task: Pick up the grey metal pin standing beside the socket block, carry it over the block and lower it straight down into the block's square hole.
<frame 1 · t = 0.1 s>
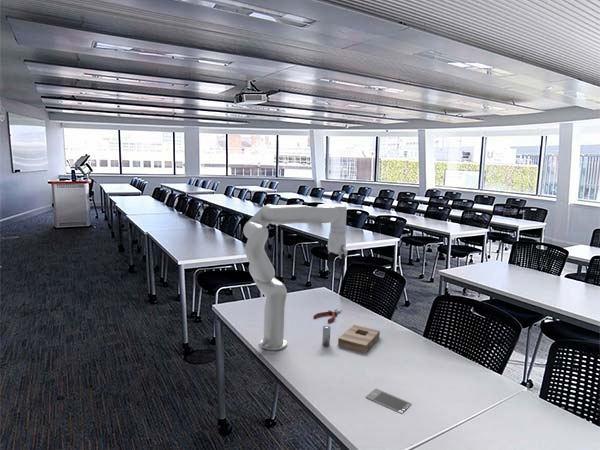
hand: (336, 263, 202), 37 cm above the table, tool pointing down, fingers open, 9 cm apart
pliers: (331, 318, 231), on the table
socket block: (359, 341, 201), on the table
smartphone: (388, 402, 151), on the table
pin: (325, 344, 196), on the table
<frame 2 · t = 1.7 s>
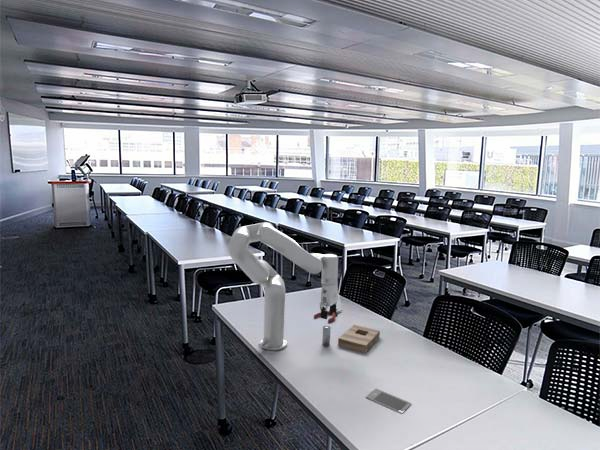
hand: (328, 315, 193), 15 cm above the table, tool pointing down, fingers open, 9 cm apart
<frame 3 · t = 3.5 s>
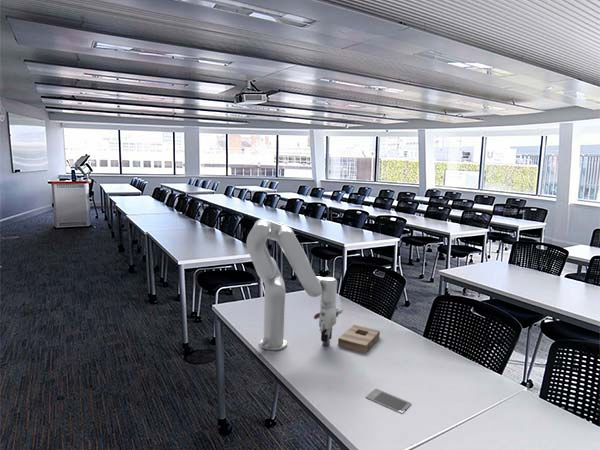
hand: (326, 339, 195), 3 cm above the table, tool pointing down, fingers closed on pin, 3 cm apart
pin: (325, 344, 196), on the table, touching gripper
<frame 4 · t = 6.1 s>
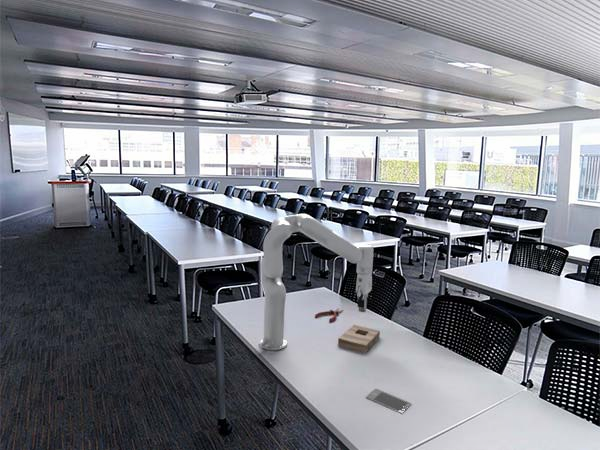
hand: (362, 305, 200), 18 cm above the table, tool pointing down, fingers closed on pin, 3 cm apart
pin: (362, 310, 201), point 15 cm above the table, touching gripper
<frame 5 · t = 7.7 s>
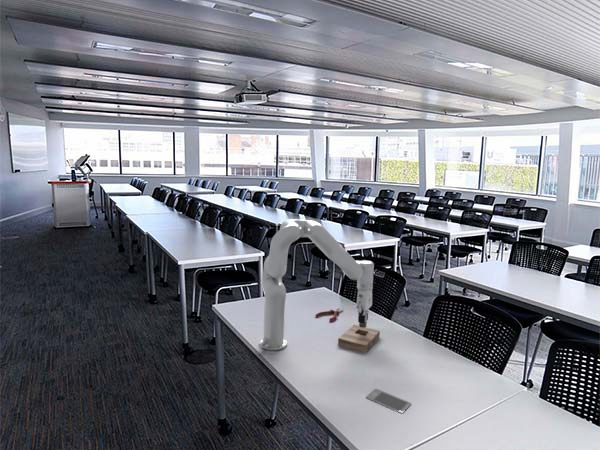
hand: (362, 320, 202), 10 cm above the table, tool pointing down, fingers closed on pin, 3 cm apart
pin: (362, 326, 202), point 7 cm above the table, touching gripper
when the fingers open (5 cm above the table, at t = 8.9 s): pin drops 2 cm, resting in socket block.
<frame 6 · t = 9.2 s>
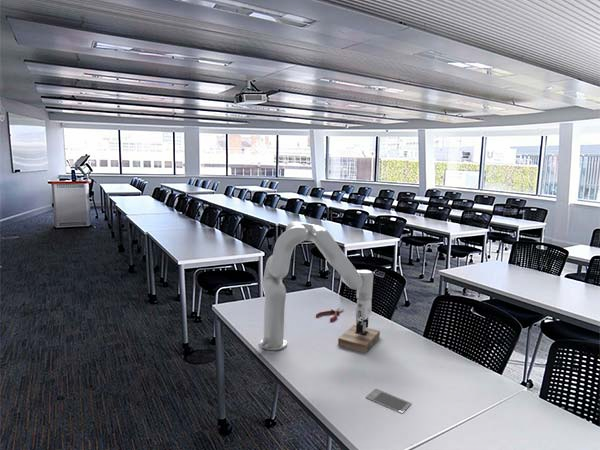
hand: (362, 329, 203), 5 cm above the table, tool pointing down, fingers open, 6 cm apart
pin: (361, 339, 204), resting in socket block
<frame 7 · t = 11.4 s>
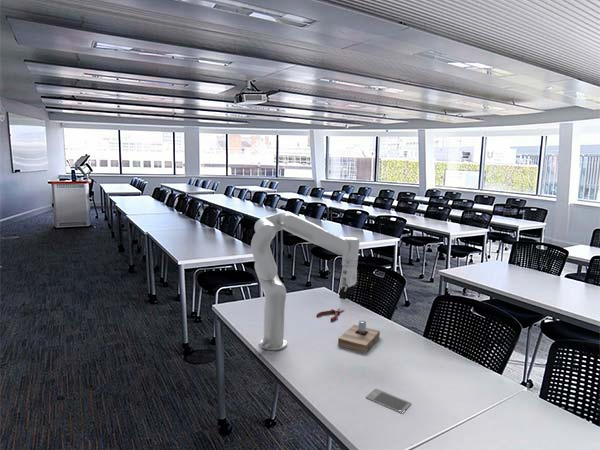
hand: (346, 296, 200), 22 cm above the table, tool pointing down, fingers open, 9 cm apart
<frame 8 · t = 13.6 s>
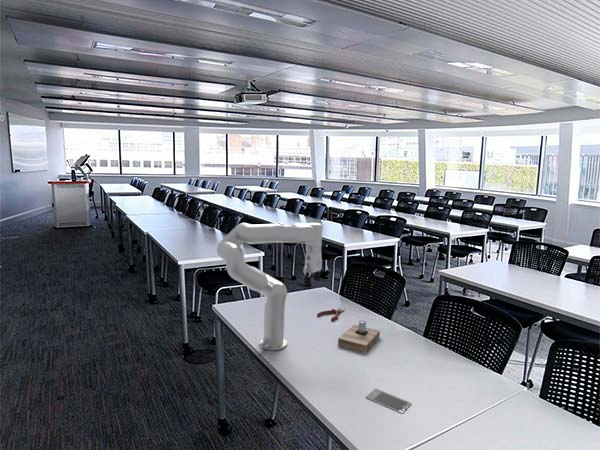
hand: (312, 282, 200), 28 cm above the table, tool pointing down, fingers open, 9 cm apart
at the end: pin 0.0 cm from the target spot on the socket block, point 0.0 cm above the socket block's base; pin tilted 0°; the gripper is holding nothing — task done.
